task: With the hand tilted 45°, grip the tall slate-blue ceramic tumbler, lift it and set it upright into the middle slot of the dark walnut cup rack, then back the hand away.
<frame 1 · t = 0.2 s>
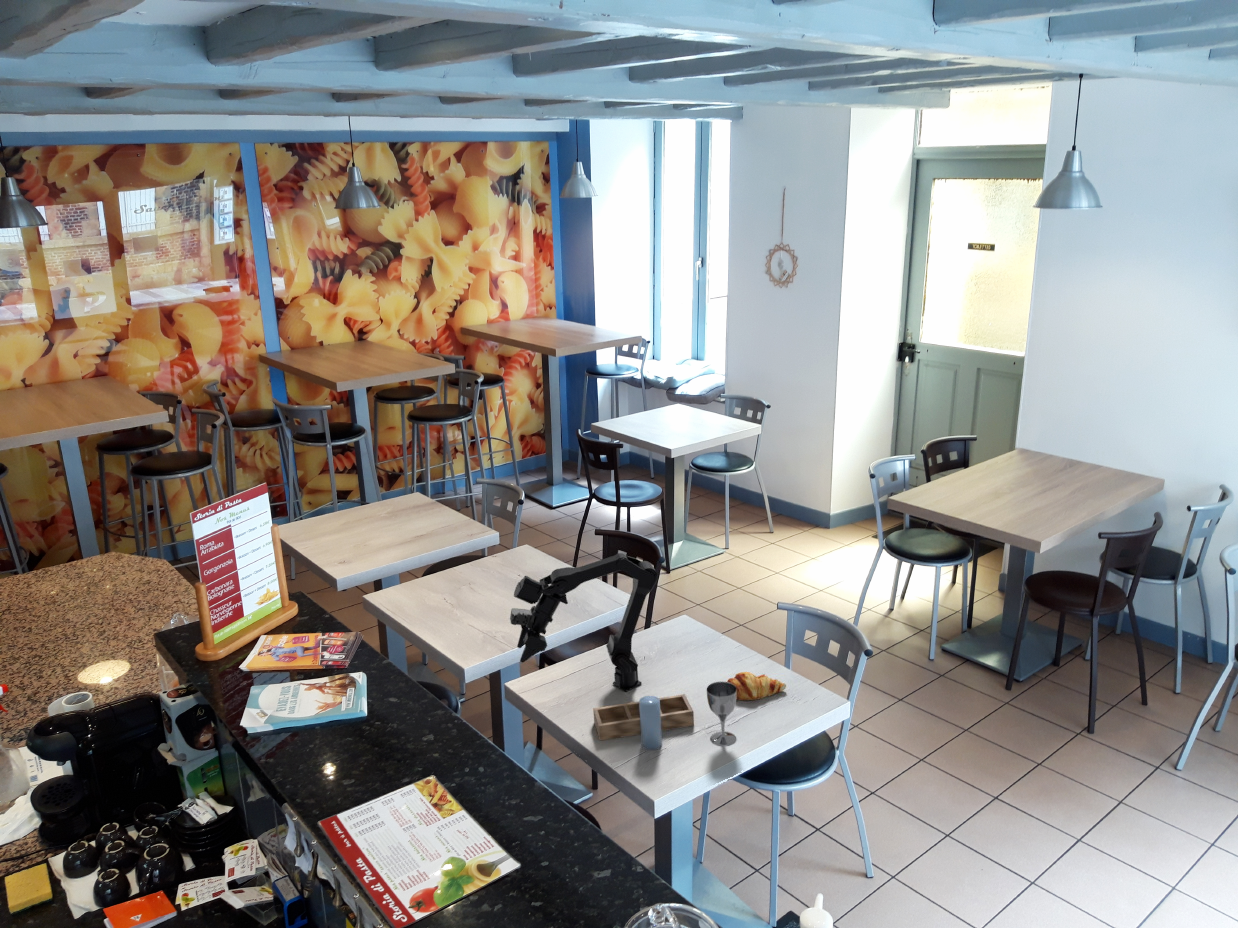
hand: (520, 654, 276), 15 cm above the table, tool tilted 35°, fingers open, 9 cm apart
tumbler: (651, 743, 254), on the table
croissant: (750, 695, 275), on the table
rack: (643, 723, 263), on the table
wine glass: (723, 739, 254), on the table
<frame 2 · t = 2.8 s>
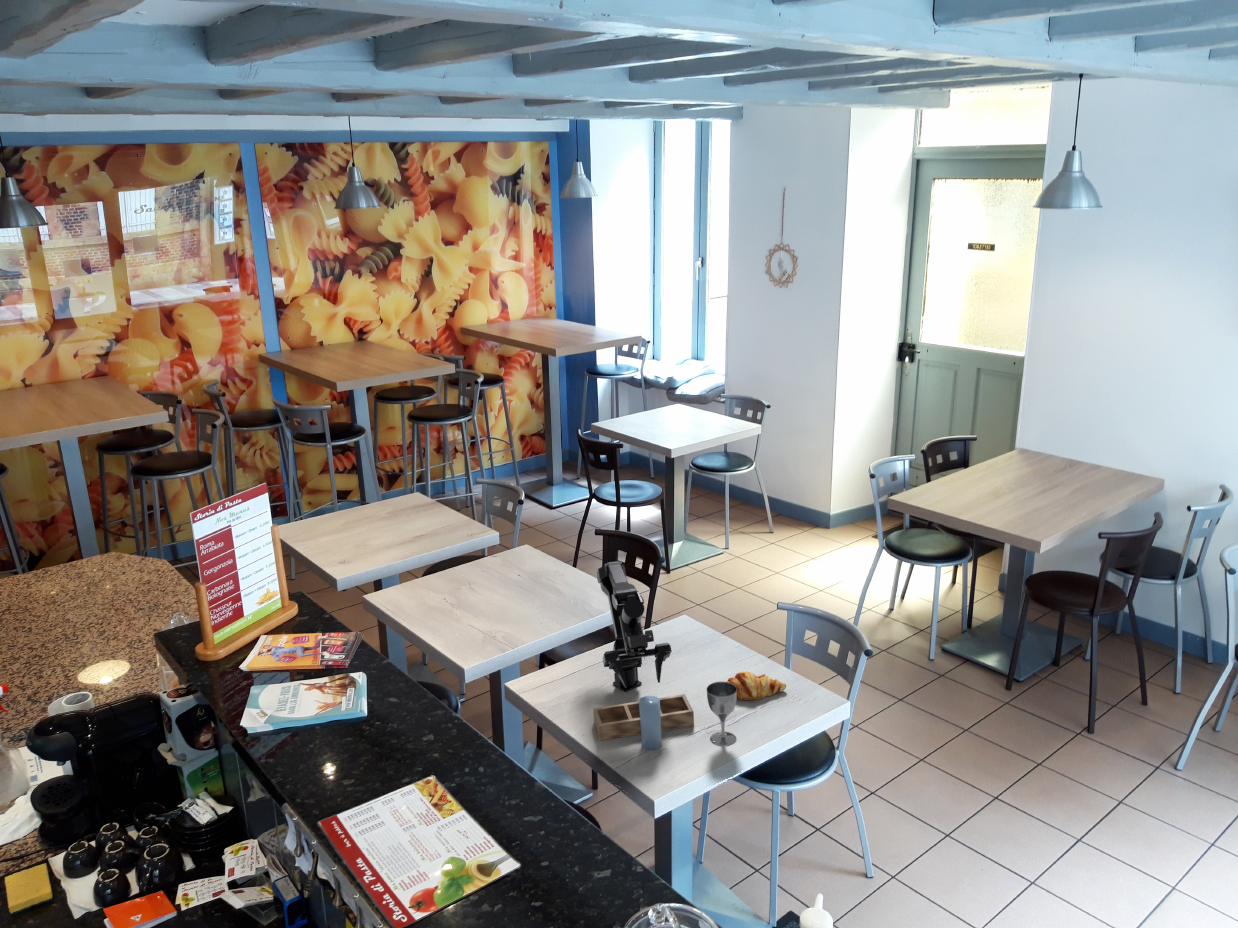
hand: (642, 684, 257), 13 cm above the table, tool tilted 45°, fingers open, 9 cm apart
nothing on the table moved.
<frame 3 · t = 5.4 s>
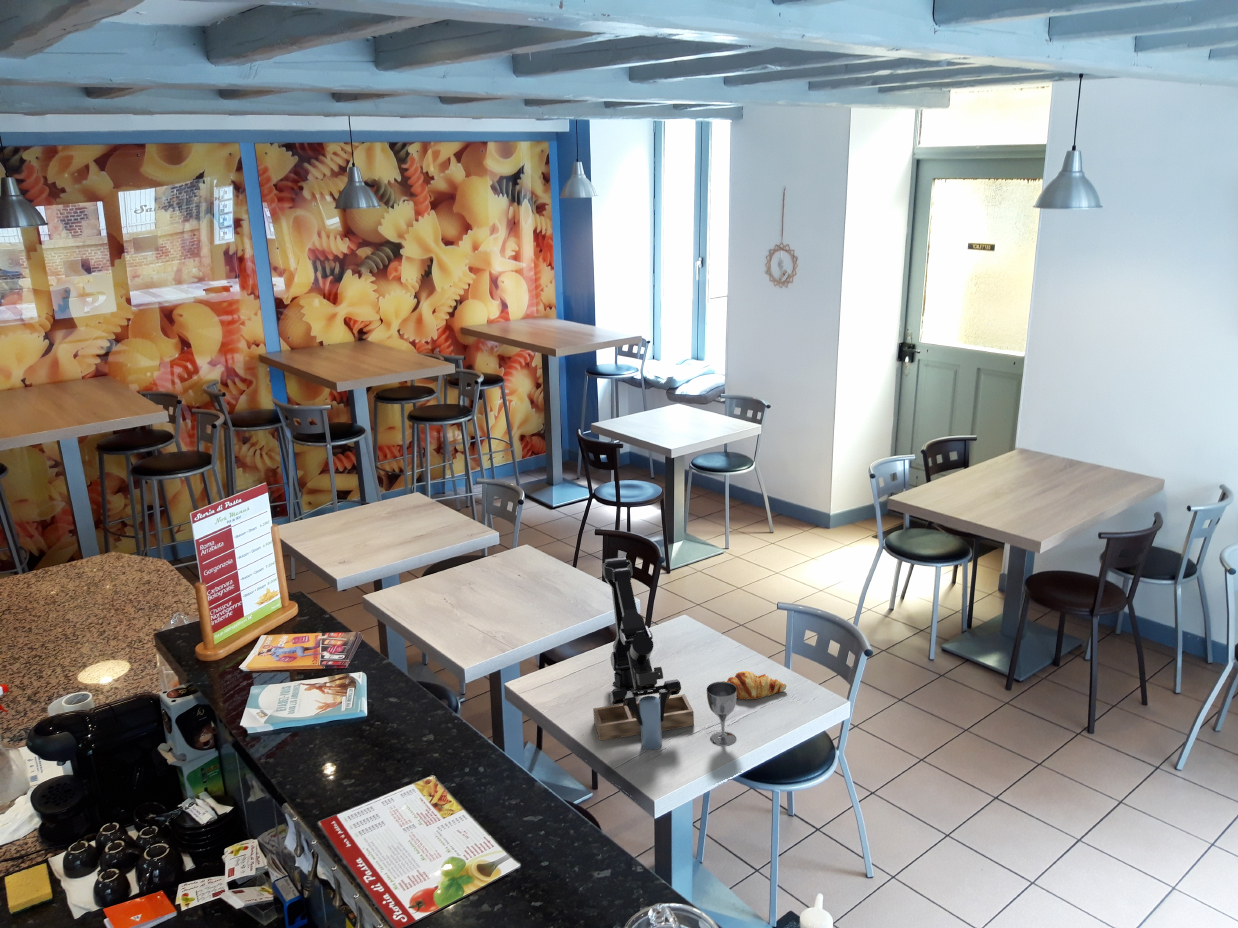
hand: (651, 723, 250), 7 cm above the table, tool tilted 45°, fingers closed on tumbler, 5 cm apart
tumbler: (651, 743, 254), on the table, touching gripper
everything else where it was.
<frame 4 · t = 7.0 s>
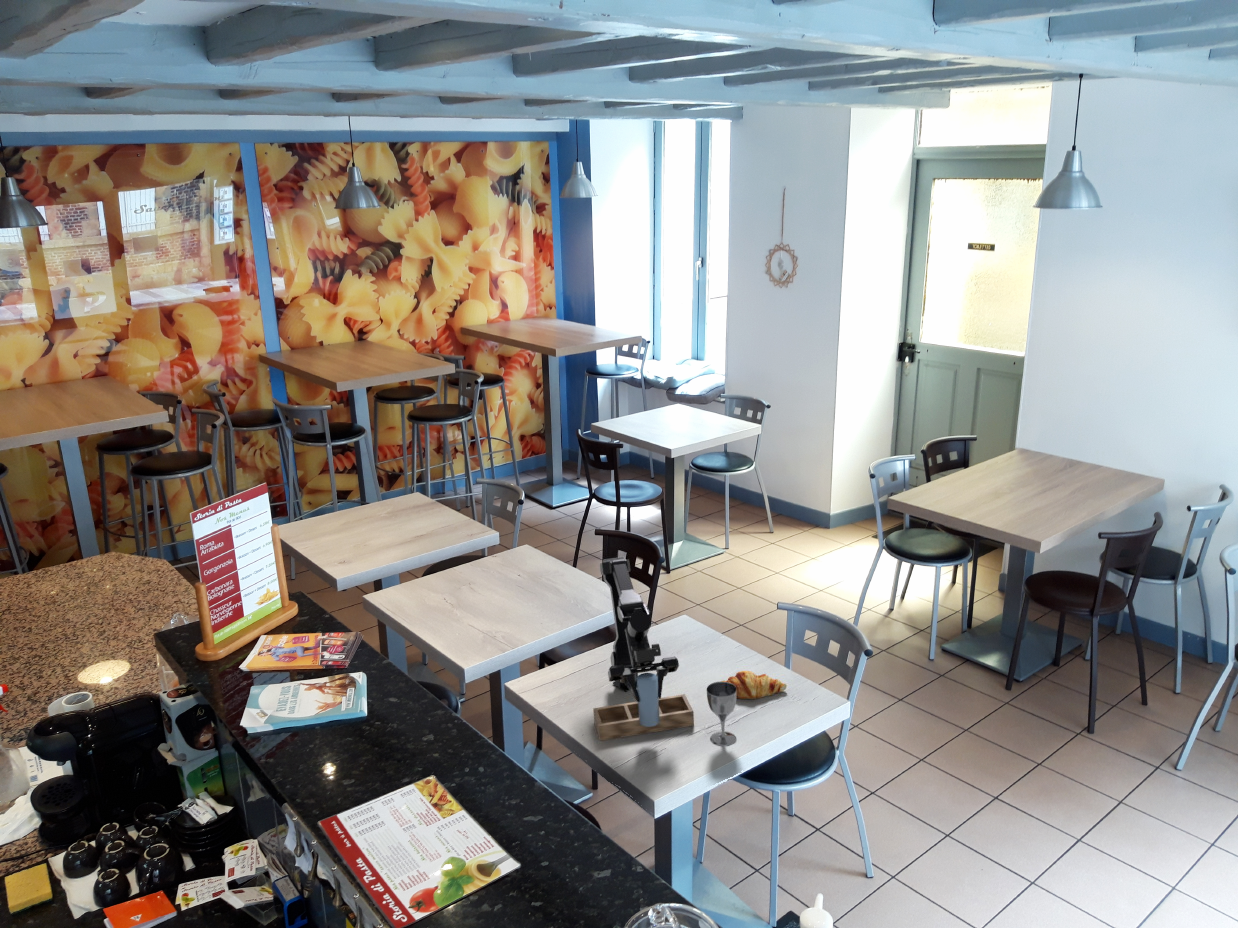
hand: (649, 700, 250), 13 cm above the table, tool tilted 45°, fingers closed on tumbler, 5 cm apart
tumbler: (649, 720, 253), point 6 cm above the table, touching gripper
everything else where it was.
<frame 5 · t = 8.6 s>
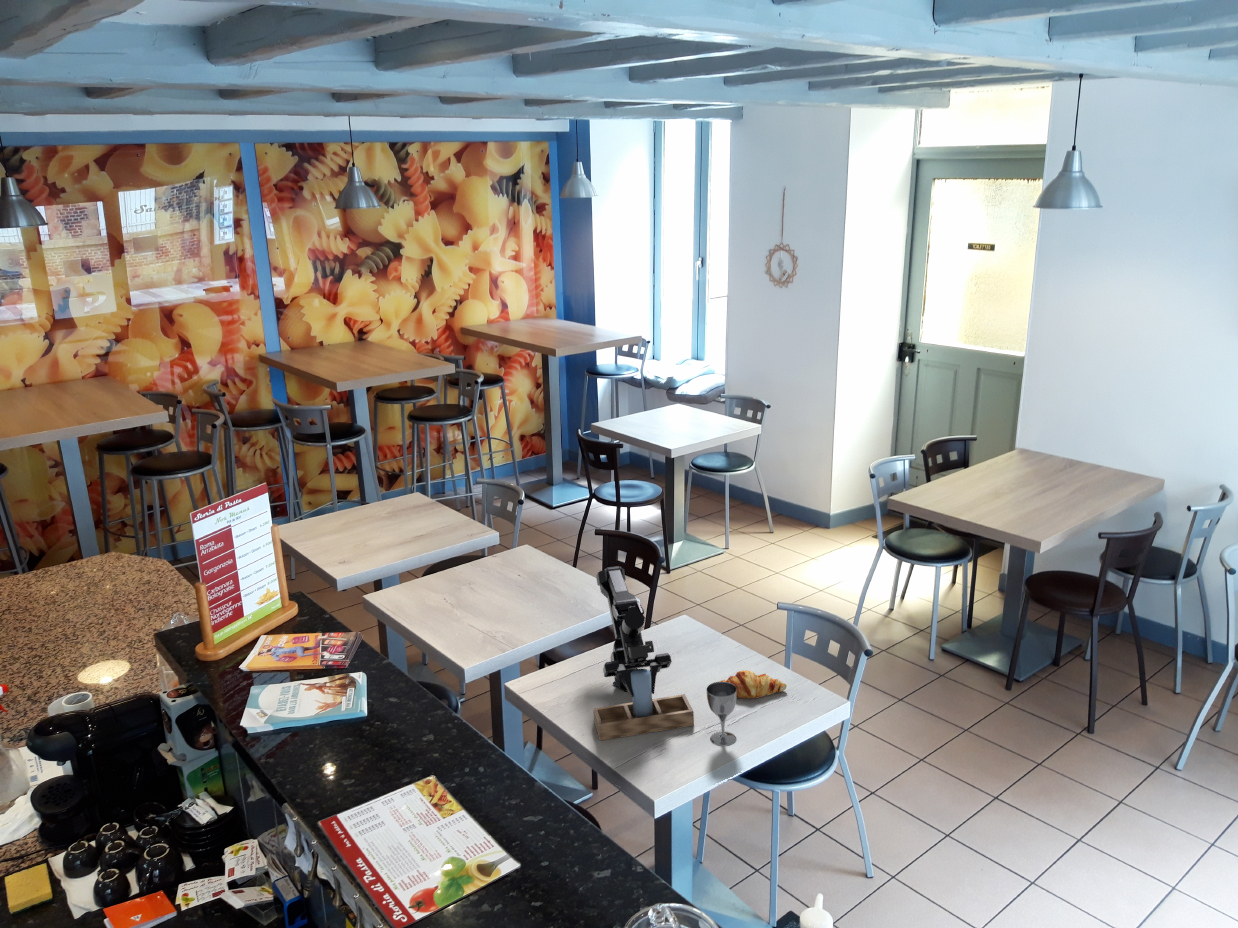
hand: (642, 695, 259), 10 cm above the table, tool tilted 45°, fingers closed on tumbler, 5 cm apart
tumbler: (643, 715, 263), point 3 cm above the table, touching gripper
everything else where it was.
when the fingers open (9 cm above the table, at t = 9.1 s): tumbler drops 1 cm, resting on rack.
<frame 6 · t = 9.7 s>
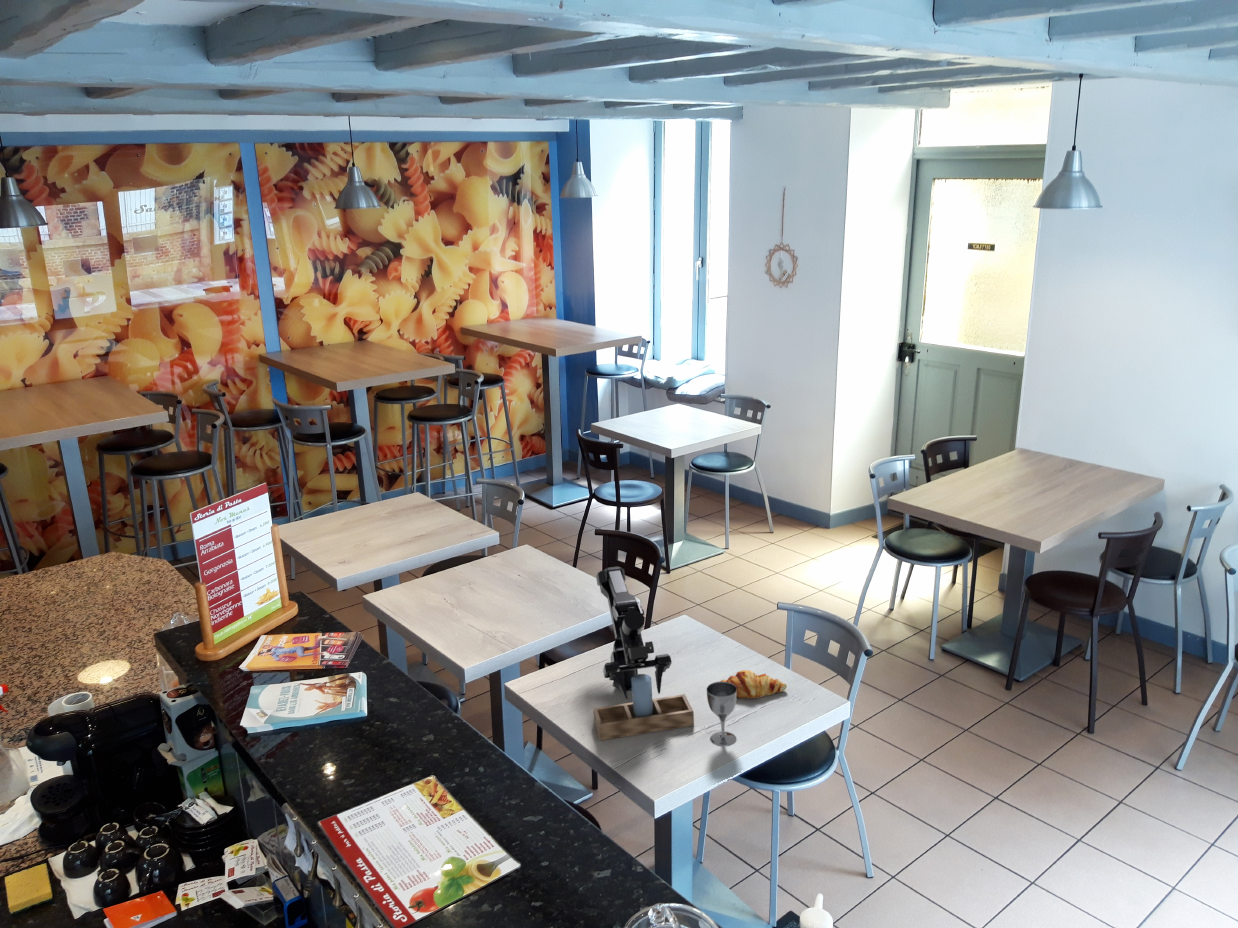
hand: (643, 695, 259), 10 cm above the table, tool tilted 45°, fingers open, 9 cm apart
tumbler: (643, 720, 263), point 1 cm above the table, touching rack
everything else where it was.
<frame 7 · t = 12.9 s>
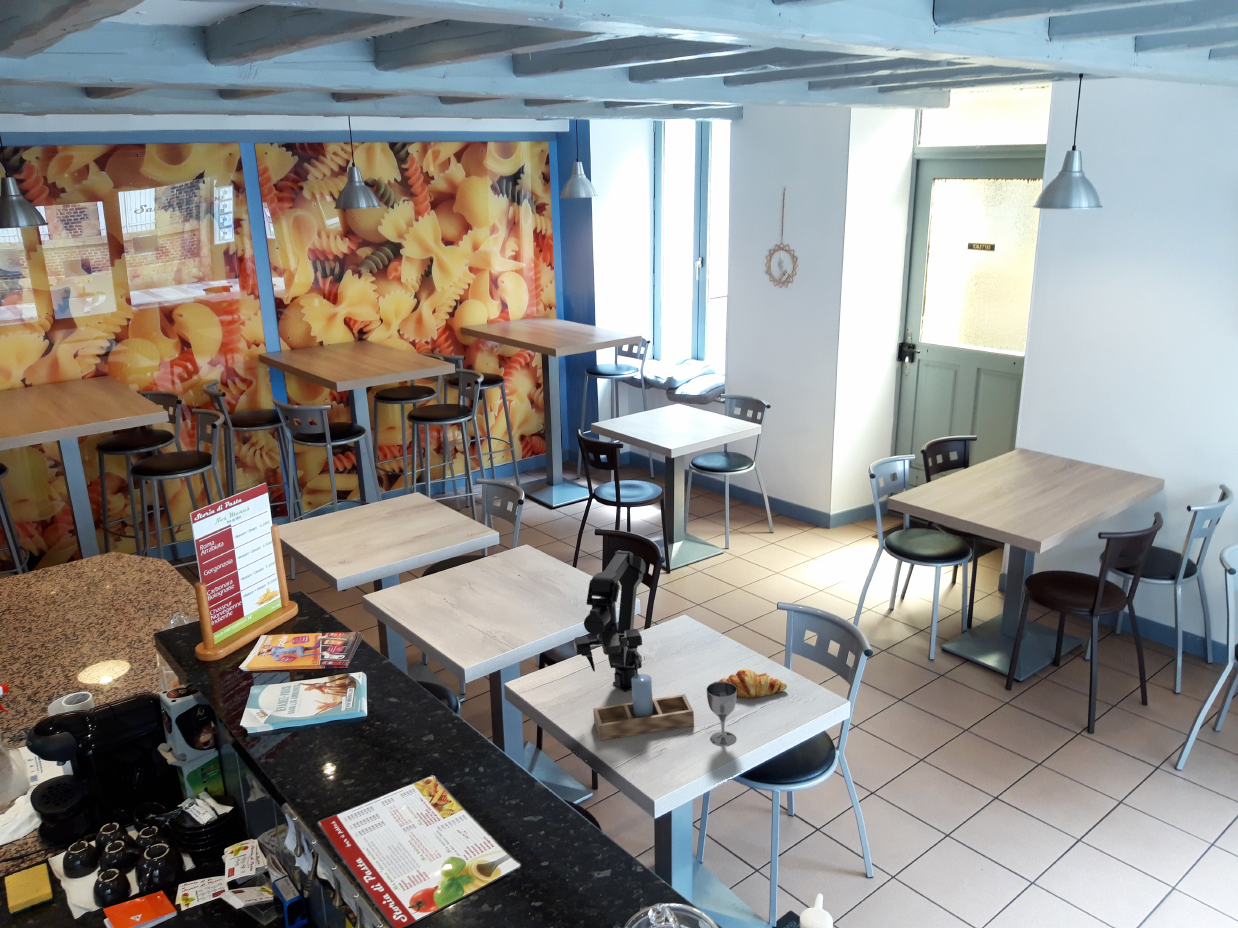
hand: (609, 668, 268), 13 cm above the table, tool pointing down, fingers open, 9 cm apart
at the end: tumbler 0.1 cm off-centre on the rack, point 1.0 cm above the rack's base; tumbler tilted 0°; the gripper is holding nothing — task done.
